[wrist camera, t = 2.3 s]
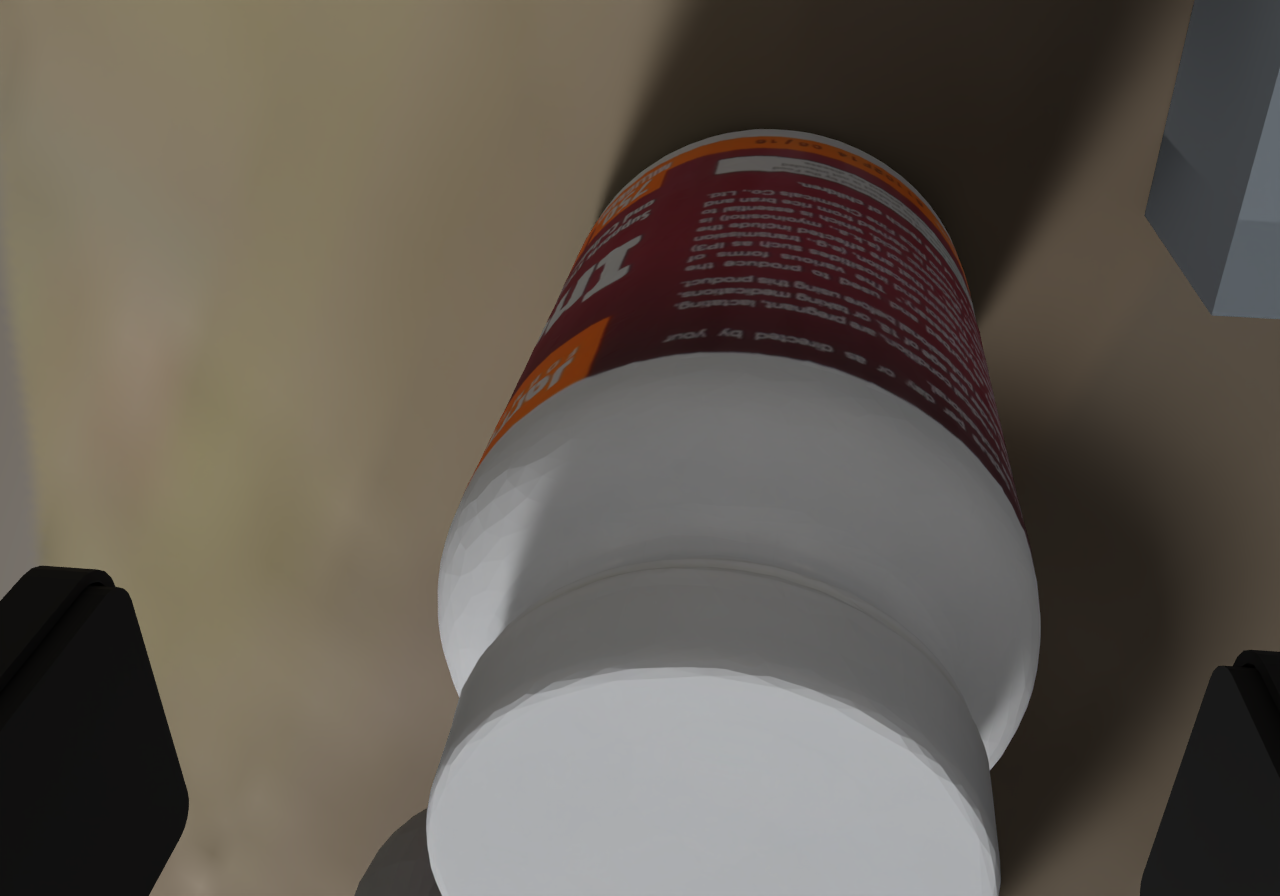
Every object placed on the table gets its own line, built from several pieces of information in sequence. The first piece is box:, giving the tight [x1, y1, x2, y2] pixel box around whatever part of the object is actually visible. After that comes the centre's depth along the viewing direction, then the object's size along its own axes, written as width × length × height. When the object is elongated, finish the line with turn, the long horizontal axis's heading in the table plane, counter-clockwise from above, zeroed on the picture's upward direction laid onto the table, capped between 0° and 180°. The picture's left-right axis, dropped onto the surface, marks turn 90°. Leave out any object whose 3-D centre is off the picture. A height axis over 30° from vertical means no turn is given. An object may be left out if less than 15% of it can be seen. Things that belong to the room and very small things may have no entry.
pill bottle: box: [426, 129, 1041, 896], centre depth 14 cm, size 6×6×11 cm
